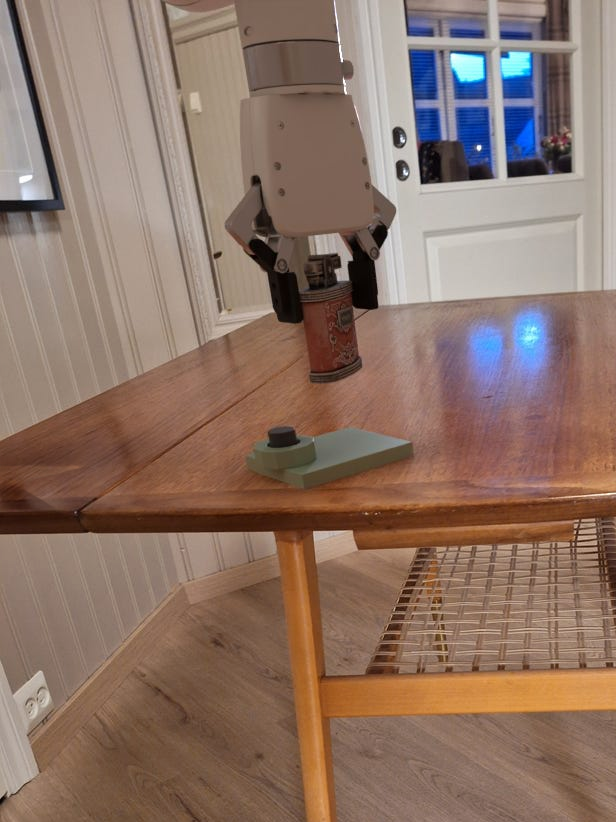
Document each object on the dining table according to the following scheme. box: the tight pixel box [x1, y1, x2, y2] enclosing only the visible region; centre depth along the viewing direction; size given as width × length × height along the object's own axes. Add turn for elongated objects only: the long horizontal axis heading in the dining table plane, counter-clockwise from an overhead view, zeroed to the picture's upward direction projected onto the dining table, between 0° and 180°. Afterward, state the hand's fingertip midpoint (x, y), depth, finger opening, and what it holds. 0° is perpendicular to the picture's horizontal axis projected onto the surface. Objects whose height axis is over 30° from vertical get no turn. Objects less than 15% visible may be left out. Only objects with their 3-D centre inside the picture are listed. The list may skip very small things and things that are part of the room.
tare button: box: [267, 425, 298, 448], centre depth 77 cm, size 2×2×2 cm
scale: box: [244, 426, 414, 490], centre depth 80 cm, size 13×10×3 cm
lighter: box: [299, 252, 363, 385], centre depth 76 cm, size 8×3×10 cm, turn 167°
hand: (329, 313), depth 76 cm, fingers closed on lighter, 7 cm apart
